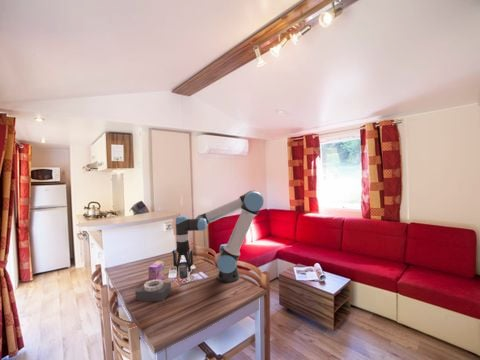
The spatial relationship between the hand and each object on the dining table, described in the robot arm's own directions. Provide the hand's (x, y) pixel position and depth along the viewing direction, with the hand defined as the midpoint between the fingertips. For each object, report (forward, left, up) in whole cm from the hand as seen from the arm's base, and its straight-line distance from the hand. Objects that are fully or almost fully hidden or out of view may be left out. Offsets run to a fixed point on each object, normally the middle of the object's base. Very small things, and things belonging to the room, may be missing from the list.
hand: (184, 276), depth 145 cm
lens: (0, 0, 0) cm, 0 cm away
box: (+22, -7, -7) cm, 24 cm away
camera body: (+15, +11, -7) cm, 20 cm away
